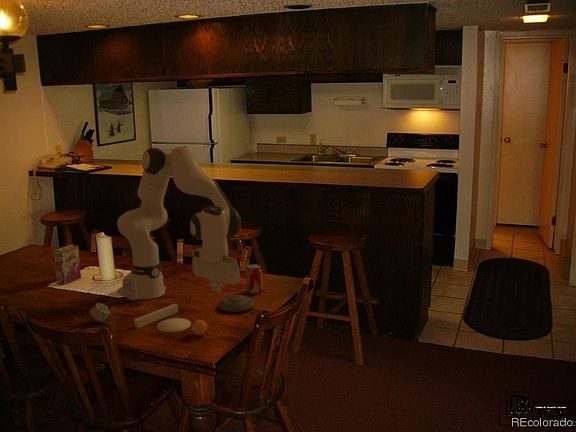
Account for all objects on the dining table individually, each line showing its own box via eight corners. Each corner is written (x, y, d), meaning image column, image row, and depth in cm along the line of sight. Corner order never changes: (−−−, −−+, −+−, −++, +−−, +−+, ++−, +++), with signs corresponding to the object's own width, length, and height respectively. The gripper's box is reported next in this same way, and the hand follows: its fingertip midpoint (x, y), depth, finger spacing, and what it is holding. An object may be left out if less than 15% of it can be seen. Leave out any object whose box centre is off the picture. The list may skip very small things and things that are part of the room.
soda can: (260, 295, 256) (259, 268, 254) (244, 294, 258) (243, 268, 255) (264, 289, 263) (263, 263, 260) (249, 288, 264) (248, 263, 262)
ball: (189, 335, 216) (188, 321, 215) (200, 330, 221) (199, 316, 219) (199, 339, 213) (198, 324, 212) (210, 334, 217) (210, 319, 216)
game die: (98, 329, 232) (91, 306, 235) (118, 321, 232) (111, 298, 235) (88, 327, 223) (81, 303, 226) (108, 319, 223) (102, 294, 226)
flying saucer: (241, 317, 233) (241, 304, 232) (210, 310, 240) (210, 298, 239) (261, 304, 246) (261, 292, 245) (231, 299, 253) (231, 287, 252)
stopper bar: (134, 326, 225) (134, 319, 224) (174, 310, 240) (174, 303, 239) (137, 328, 224) (137, 320, 223) (178, 311, 239) (177, 304, 238)
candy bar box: (64, 285, 273) (60, 251, 269) (56, 283, 275) (52, 250, 271) (82, 278, 282) (78, 245, 279) (74, 276, 285) (71, 244, 281)
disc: (149, 326, 225) (149, 326, 225) (175, 316, 235) (175, 315, 235) (171, 335, 217) (171, 334, 217) (198, 323, 227) (197, 323, 227)
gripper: (243, 256, 200) (244, 294, 203) (201, 246, 212) (203, 283, 215) (230, 260, 195) (232, 300, 198) (188, 250, 207) (190, 287, 210)
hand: (216, 291), depth 207 cm, fingers closed
